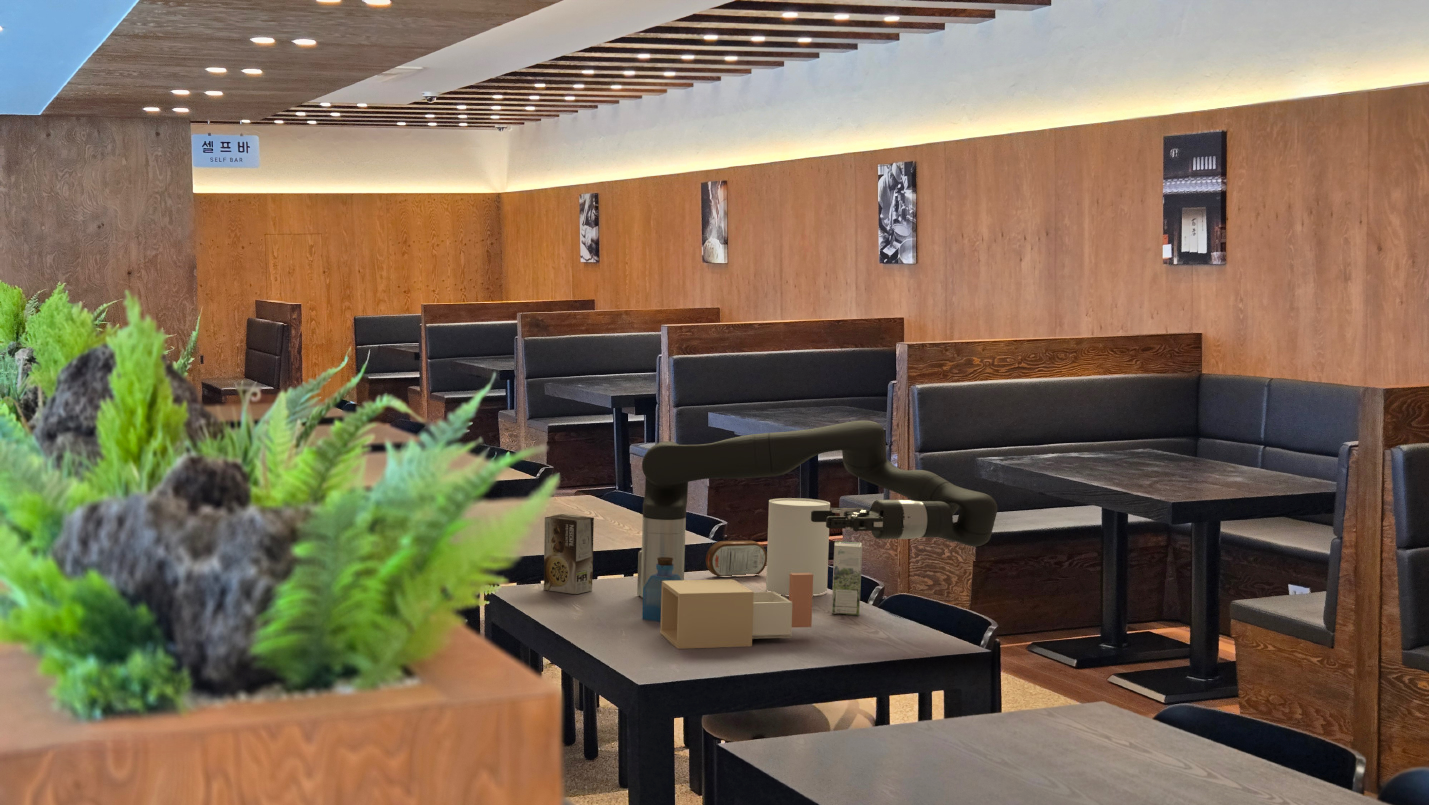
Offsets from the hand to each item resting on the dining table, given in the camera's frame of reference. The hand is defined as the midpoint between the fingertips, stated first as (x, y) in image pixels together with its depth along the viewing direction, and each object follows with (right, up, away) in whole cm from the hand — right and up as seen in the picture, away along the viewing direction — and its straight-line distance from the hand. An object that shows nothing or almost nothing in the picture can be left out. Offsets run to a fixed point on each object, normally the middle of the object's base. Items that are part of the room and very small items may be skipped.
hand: (819, 519), depth 270 cm
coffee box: (-52, -19, +40) cm, 68 cm away
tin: (-15, -19, +64) cm, 68 cm away
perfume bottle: (-30, -21, +13) cm, 39 cm away
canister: (-2, -20, +47) cm, 51 cm away
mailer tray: (-11, -21, -2) cm, 24 cm away
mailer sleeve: (-21, -22, -5) cm, 31 cm away
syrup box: (+7, -22, +24) cm, 33 cm away
